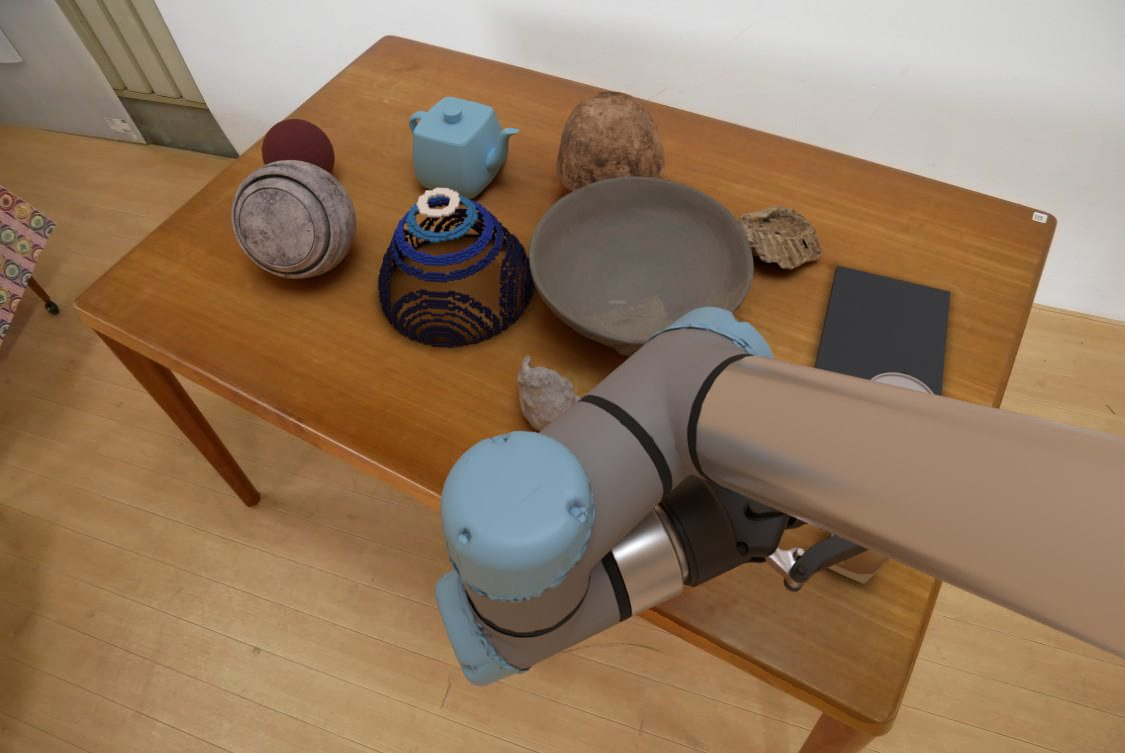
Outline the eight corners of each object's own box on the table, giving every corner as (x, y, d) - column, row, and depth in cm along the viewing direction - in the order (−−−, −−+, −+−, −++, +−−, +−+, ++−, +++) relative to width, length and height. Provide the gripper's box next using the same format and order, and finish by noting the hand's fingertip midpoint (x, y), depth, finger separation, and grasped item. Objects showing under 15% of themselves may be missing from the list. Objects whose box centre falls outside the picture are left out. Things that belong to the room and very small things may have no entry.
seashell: (811, 287, 94) (816, 218, 96) (831, 270, 87) (836, 196, 89) (728, 276, 94) (735, 207, 96) (742, 258, 87) (749, 184, 89)
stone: (598, 410, 80) (599, 357, 72) (575, 457, 76) (574, 408, 68) (525, 384, 82) (519, 331, 74) (499, 429, 79) (490, 378, 71)
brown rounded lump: (666, 167, 105) (676, 74, 93) (655, 238, 96) (665, 146, 84) (568, 157, 107) (566, 66, 95) (548, 226, 98) (543, 135, 86)
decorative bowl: (523, 351, 85) (512, 268, 74) (365, 342, 87) (330, 259, 75) (541, 238, 97) (535, 151, 85) (401, 232, 98) (376, 145, 87)
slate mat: (937, 419, 78) (939, 416, 77) (811, 384, 81) (812, 381, 81) (948, 294, 89) (950, 291, 88) (836, 268, 92) (837, 265, 91)
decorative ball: (353, 187, 104) (333, 129, 96) (290, 213, 101) (264, 156, 93) (327, 154, 109) (306, 96, 101) (266, 178, 106) (240, 120, 98)
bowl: (725, 232, 96) (738, 173, 88) (754, 388, 81) (772, 334, 73) (537, 235, 97) (532, 177, 89) (530, 390, 82) (524, 337, 74)
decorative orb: (244, 296, 92) (192, 207, 80) (281, 222, 100) (239, 132, 88) (352, 303, 91) (315, 214, 79) (381, 227, 99) (352, 136, 87)
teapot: (506, 219, 99) (498, 151, 90) (399, 188, 104) (380, 121, 95) (542, 168, 106) (538, 100, 97) (440, 141, 110) (426, 74, 101)
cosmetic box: (837, 514, 72) (877, 456, 62) (880, 532, 70) (928, 476, 60) (819, 568, 68) (859, 516, 58) (864, 588, 67) (912, 539, 57)
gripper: (601, 457, 56) (838, 357, 61) (726, 683, 46) (998, 540, 51) (602, 406, 50) (866, 300, 55) (748, 653, 40) (1055, 495, 45)
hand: (929, 416), depth 53 cm, fingers closed on beverage can, 6 cm apart
